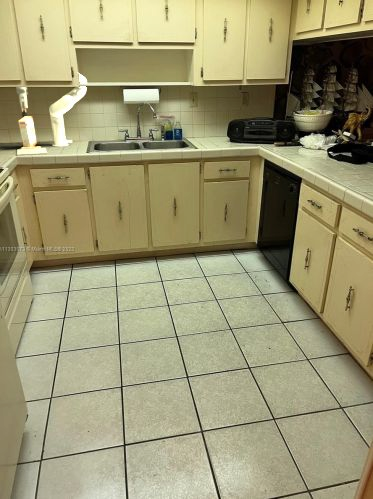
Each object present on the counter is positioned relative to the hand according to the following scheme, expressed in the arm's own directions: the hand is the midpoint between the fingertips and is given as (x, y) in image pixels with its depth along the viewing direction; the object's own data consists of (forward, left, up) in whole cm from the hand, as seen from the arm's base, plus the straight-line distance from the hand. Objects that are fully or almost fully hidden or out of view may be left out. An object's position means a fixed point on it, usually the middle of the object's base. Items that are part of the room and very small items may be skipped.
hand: (24, 117), depth 282 cm
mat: (-1, +26, -22) cm, 34 cm away
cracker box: (-1, +6, -21) cm, 21 cm away
